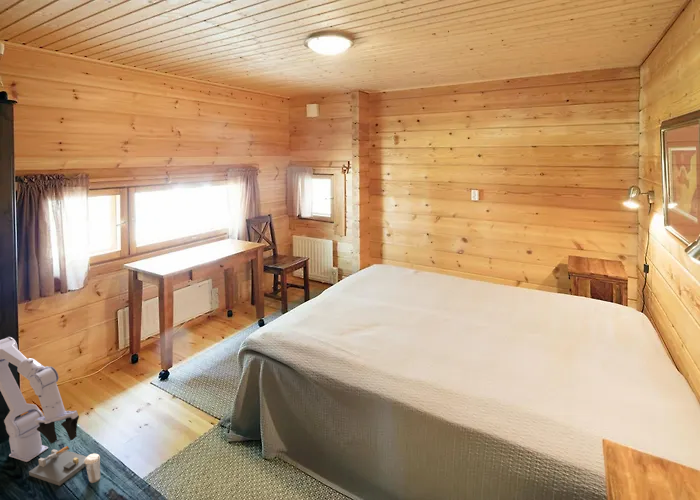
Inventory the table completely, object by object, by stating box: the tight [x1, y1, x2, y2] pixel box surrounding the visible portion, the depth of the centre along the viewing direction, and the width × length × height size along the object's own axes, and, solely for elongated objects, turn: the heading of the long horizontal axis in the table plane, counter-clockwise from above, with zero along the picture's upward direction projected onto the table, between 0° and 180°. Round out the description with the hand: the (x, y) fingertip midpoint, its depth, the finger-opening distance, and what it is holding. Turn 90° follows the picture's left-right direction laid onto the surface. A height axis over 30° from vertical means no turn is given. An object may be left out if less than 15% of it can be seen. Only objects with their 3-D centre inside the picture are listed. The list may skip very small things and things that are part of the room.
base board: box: [28, 448, 87, 487], centre depth 145 cm, size 14×12×4 cm
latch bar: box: [43, 445, 70, 460], centre depth 145 cm, size 10×3×1 cm, turn 72°
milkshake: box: [84, 453, 101, 484], centre depth 139 cm, size 4×5×10 cm
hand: (63, 440), depth 142 cm, fingers open, 7 cm apart
